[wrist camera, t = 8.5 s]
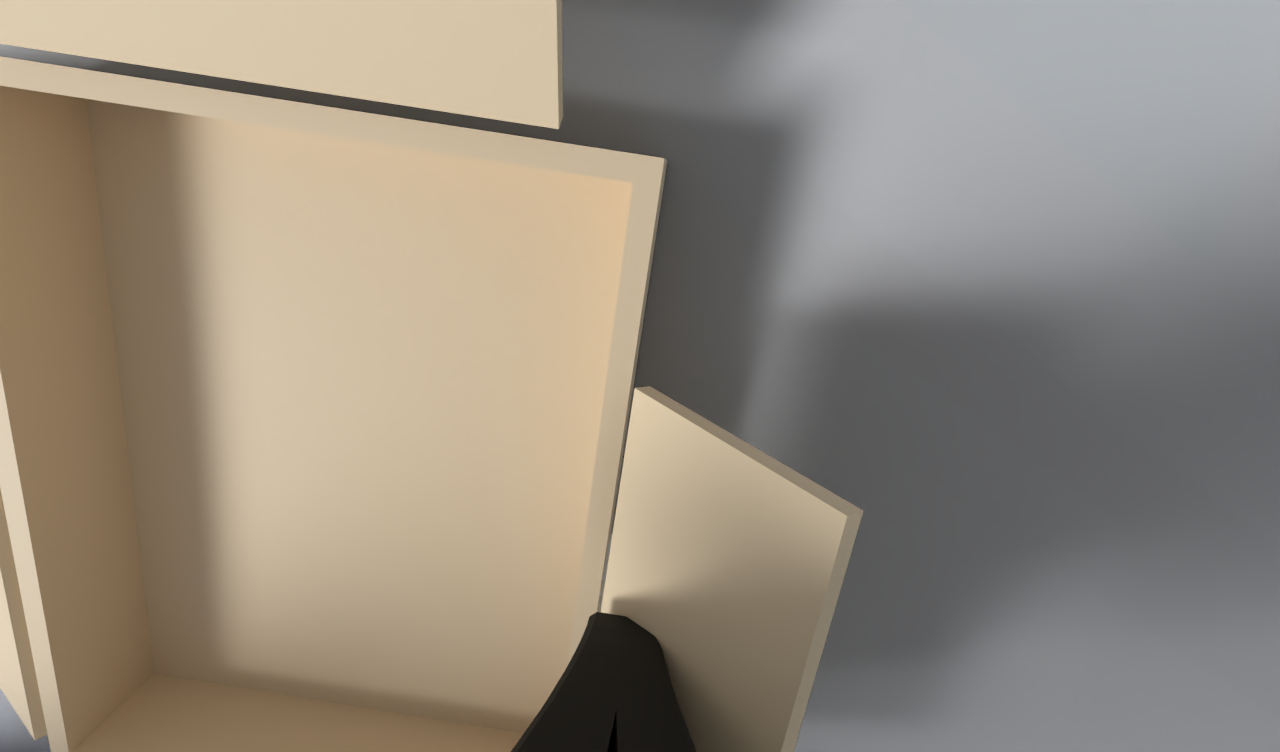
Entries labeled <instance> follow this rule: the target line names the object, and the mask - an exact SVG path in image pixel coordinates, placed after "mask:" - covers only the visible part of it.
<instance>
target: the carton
mask: <svg viewBox="0 0 1280 752" xmlns="http://www.w3.org/2000/svg"><path fill="white" fill-rule="evenodd" d="M667 162H668V161H667V160H666V159H665V158H660V157H653V156H647V155H640V154H634V153H627V152H620V151H614V150H607V149H601V148H594V147H588V146H581V145H575V144H568V143H562V142H555V141H549V140H542V139H536V138H529V137H523V136H516V135H510V134H503V133H497V132H490V131H483V130H477V129H470V128H464V127H457V126H451V125H444V124H438V123H431V122H425V121H418V120H412V119H405V118H399V117H392V116H386V115H379V114H373V113H366V112H360V111H353V110H346V109H340V108H333V107H327V106H320V105H314V104H307V103H301V102H294V101H288V100H281V99H275V98H268V97H262V96H255V95H249V94H242V93H236V92H229V91H223V90H216V89H210V88H203V87H196V86H190V85H183V84H177V83H170V82H164V81H157V80H151V79H144V78H138V77H131V76H125V75H118V74H112V73H105V72H99V71H92V70H86V69H79V68H73V67H66V66H59V65H53V64H46V63H40V62H33V61H27V60H20V59H14V58H7V57H1V56H0V688H1V690H2V691H3V693H4V694H5V696H6V697H7V699H8V700H9V702H10V703H11V705H12V706H13V708H14V710H15V711H16V713H17V714H18V716H19V717H20V719H21V720H22V722H23V723H24V725H25V726H26V728H27V730H28V731H29V733H30V734H31V736H32V737H33V739H34V740H37V739H39V738H41V737H43V736H45V735H48V740H49V745H50V750H51V752H511V750H512V749H513V748H514V746H515V745H516V744H517V742H518V741H519V739H520V738H521V737H522V735H523V734H524V732H525V731H526V729H527V728H528V727H529V725H530V724H531V722H532V721H533V720H534V718H535V717H536V715H537V714H538V713H539V711H540V710H541V708H542V707H543V705H544V704H545V702H546V701H547V699H548V697H549V696H550V694H551V692H552V691H553V689H554V688H555V686H556V684H557V683H558V681H559V679H560V678H561V676H562V674H563V673H564V671H565V669H566V668H567V666H568V664H569V662H570V660H571V658H572V657H573V655H574V653H575V651H576V649H577V647H578V645H579V643H580V641H581V638H582V636H583V634H584V631H585V629H586V626H587V623H588V620H589V616H591V615H593V614H594V613H596V612H601V606H602V600H603V593H604V587H605V580H606V573H607V567H608V560H609V554H610V547H611V540H612V534H611V533H612V526H613V519H614V513H615V506H616V500H617V493H618V486H619V480H620V473H621V466H622V460H623V453H624V447H625V440H626V433H627V427H628V420H629V413H630V407H631V400H632V394H633V387H634V380H635V374H636V367H637V360H638V354H639V347H640V341H641V334H642V327H643V321H644V314H645V307H646V301H647V294H648V288H649V281H650V274H651V268H652V261H653V254H654V248H655V241H656V235H657V228H658V221H659V215H660V208H661V201H662V195H663V188H664V182H665V175H666V168H667Z"/></svg>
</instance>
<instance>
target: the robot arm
mask: <svg viewBox="0 0 1280 752" xmlns="http://www.w3.org/2000/svg"><path fill="white" fill-rule="evenodd" d="M511 752H697V751H696V748H695V746H694V744H693V741H692V739H691V736H690V734H689V731H688V728H687V726H686V723H685V720H684V717H683V715H682V712H681V709H680V707H679V704H678V701H677V698H676V695H675V692H674V689H673V686H672V683H671V680H670V676H669V673H668V669H667V666H666V662H665V659H664V655H663V651H662V648H661V646H660V644H659V642H658V640H657V639H656V637H655V636H654V635H653V634H651V633H650V632H649V631H647V630H646V629H644V628H643V627H641V626H640V625H638V624H637V623H635V622H634V621H632V620H631V619H630V618H628V617H627V616H621V615H615V614H608V613H602V612H596V613H594V614H593V615H591V616H589V620H588V623H587V626H586V629H585V631H584V634H583V636H582V638H581V641H580V643H579V645H578V647H577V649H576V651H575V653H574V655H573V657H572V658H571V660H570V662H569V664H568V666H567V668H566V669H565V671H564V673H563V674H562V676H561V678H560V679H559V681H558V683H557V684H556V686H555V688H554V689H553V691H552V692H551V694H550V696H549V697H548V699H547V701H546V702H545V704H544V705H543V707H542V708H541V710H540V711H539V713H538V714H537V715H536V717H535V718H534V720H533V721H532V722H531V724H530V725H529V727H528V728H527V729H526V731H525V732H524V734H523V735H522V737H521V738H520V739H519V741H518V742H517V744H516V745H515V746H514V748H513V749H512V750H511Z"/></svg>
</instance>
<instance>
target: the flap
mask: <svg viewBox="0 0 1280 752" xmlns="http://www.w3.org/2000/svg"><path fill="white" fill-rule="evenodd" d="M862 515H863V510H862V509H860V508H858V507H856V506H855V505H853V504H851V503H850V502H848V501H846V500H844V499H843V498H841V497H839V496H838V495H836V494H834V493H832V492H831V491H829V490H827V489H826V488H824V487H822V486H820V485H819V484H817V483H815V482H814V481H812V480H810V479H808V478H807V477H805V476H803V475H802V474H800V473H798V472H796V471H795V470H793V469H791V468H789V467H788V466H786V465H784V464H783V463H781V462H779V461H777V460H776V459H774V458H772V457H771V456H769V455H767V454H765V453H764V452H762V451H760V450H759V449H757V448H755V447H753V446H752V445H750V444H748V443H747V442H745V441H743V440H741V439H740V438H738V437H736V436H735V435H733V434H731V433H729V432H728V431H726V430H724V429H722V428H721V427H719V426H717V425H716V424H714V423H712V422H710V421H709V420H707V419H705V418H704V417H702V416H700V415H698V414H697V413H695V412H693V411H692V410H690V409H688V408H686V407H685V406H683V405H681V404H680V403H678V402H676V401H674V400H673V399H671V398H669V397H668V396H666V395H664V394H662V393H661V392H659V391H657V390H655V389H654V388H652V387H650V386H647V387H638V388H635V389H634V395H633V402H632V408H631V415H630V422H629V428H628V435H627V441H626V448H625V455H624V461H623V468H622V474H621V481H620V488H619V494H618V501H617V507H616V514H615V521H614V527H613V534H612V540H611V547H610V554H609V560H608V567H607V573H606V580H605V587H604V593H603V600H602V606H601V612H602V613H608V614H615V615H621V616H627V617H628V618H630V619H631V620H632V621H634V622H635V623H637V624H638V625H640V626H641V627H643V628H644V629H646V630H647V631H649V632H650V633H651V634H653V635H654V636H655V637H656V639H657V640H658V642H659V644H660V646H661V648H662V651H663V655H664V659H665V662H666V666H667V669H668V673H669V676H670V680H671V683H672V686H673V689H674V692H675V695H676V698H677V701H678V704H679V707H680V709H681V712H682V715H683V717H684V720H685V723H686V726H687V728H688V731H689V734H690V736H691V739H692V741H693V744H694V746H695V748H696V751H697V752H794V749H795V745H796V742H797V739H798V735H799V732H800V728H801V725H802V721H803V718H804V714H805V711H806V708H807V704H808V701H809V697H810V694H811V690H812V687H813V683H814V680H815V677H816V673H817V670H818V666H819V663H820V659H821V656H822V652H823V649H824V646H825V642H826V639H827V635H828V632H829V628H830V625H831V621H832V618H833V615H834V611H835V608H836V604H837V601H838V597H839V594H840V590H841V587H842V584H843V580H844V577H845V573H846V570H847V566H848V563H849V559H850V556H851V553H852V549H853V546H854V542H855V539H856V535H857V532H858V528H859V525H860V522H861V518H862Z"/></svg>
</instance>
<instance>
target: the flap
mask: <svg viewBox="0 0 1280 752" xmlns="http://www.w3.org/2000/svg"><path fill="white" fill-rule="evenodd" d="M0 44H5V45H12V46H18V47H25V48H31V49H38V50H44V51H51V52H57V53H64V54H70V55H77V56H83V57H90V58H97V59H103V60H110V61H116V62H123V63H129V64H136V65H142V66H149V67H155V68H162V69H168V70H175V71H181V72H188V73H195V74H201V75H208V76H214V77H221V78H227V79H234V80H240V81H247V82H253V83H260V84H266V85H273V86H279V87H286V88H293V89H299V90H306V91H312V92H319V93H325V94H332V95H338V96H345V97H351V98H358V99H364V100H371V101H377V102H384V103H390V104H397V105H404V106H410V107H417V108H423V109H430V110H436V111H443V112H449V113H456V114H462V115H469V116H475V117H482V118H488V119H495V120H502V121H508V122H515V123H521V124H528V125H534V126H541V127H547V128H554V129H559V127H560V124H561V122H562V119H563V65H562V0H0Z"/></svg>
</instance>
